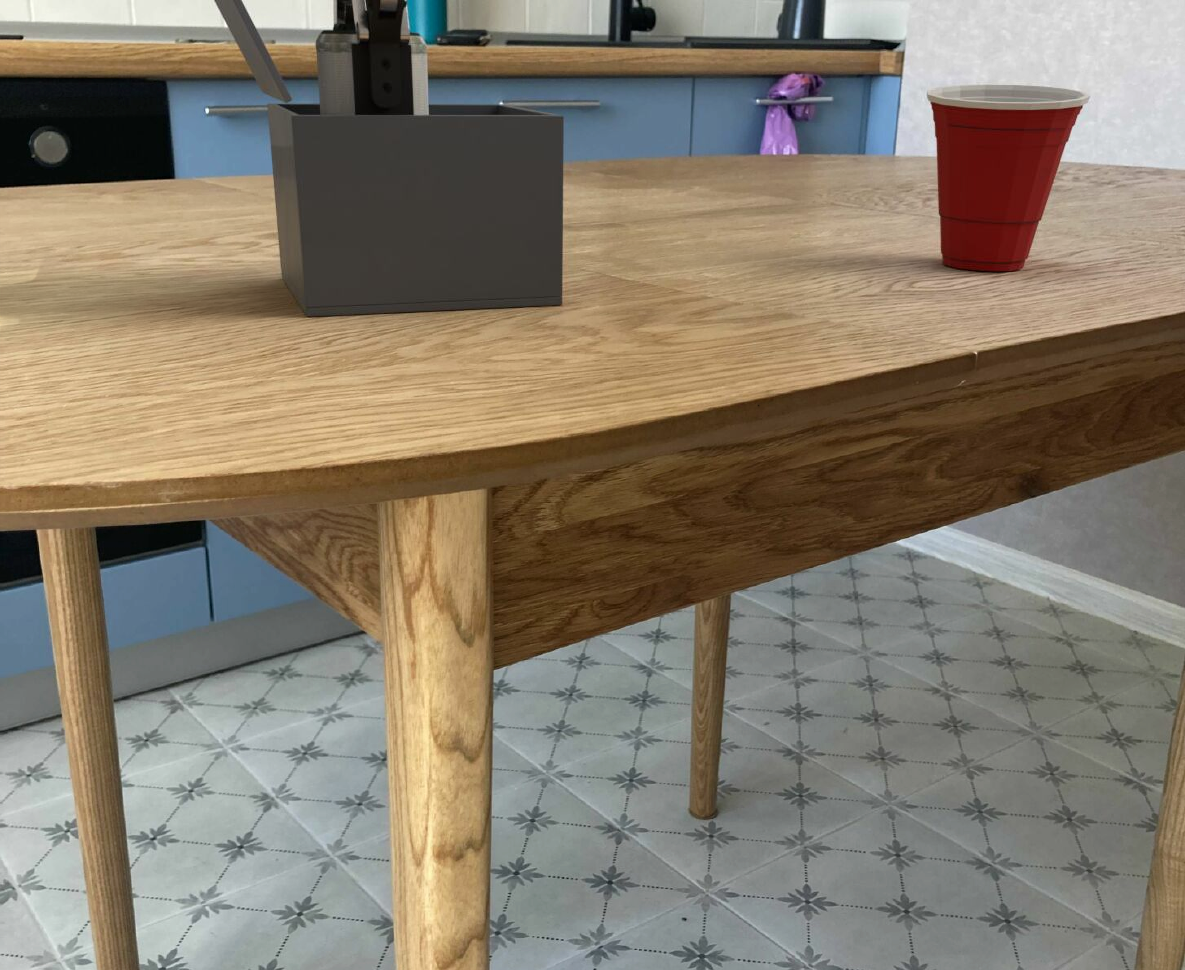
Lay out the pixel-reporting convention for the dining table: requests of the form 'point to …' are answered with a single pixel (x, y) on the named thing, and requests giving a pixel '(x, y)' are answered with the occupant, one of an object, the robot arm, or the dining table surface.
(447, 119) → the carton
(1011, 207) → the plastic cup
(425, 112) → the camera lens
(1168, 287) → the dining table surface
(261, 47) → the flap
